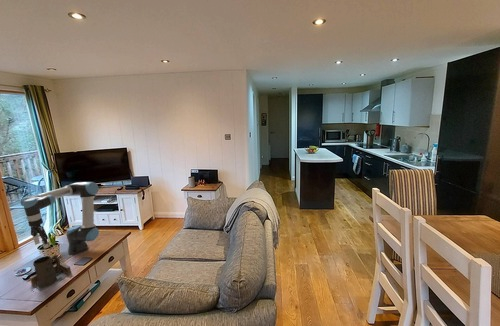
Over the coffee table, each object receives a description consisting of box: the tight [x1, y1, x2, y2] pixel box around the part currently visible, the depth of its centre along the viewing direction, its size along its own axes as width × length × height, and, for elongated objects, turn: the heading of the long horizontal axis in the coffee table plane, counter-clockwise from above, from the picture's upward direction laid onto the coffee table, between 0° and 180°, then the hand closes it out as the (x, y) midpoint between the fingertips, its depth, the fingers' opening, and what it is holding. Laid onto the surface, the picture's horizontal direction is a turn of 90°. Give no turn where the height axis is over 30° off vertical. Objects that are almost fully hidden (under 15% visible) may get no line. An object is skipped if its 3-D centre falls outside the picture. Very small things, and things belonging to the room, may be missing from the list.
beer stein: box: [32, 254, 61, 288], centre depth 175 cm, size 15×11×20 cm
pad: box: [33, 271, 69, 292], centre depth 177 cm, size 17×12×1 cm
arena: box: [29, 261, 72, 286], centre depth 178 cm, size 20×14×6 cm
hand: (42, 245), depth 172 cm, fingers open, 13 cm apart
